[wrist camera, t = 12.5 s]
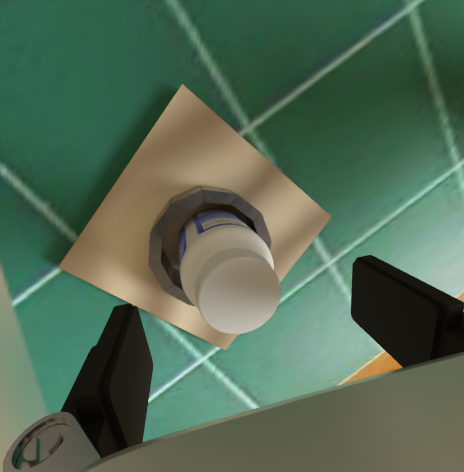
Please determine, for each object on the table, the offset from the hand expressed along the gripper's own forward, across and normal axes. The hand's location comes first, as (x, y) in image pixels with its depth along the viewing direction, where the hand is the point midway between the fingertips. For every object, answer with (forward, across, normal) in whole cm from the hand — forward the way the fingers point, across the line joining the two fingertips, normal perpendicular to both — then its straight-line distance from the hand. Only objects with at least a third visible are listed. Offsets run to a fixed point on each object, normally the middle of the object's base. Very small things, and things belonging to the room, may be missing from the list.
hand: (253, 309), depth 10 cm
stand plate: (+12, +1, 0) cm, 12 cm away
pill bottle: (+11, +1, 0) cm, 11 cm away
